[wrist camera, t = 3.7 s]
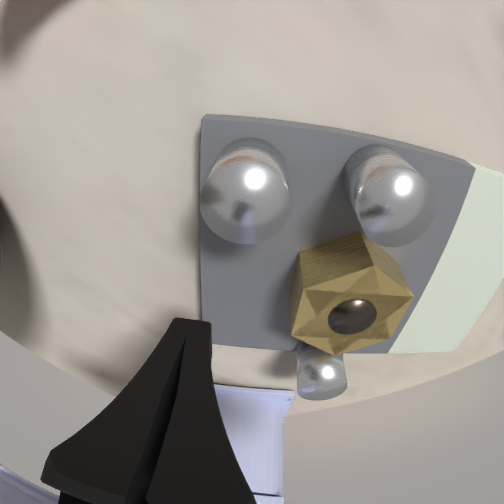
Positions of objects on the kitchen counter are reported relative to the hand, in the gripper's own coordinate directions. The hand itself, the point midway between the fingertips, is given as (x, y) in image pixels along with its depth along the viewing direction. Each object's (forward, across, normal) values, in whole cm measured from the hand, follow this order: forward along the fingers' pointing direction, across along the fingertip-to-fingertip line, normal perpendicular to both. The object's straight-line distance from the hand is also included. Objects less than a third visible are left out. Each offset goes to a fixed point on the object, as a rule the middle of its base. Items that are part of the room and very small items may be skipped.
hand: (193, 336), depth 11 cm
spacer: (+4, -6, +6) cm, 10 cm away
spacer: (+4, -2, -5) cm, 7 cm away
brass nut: (+4, -6, 0) cm, 8 cm away
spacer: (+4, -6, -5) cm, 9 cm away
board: (+5, -8, 0) cm, 10 cm away
